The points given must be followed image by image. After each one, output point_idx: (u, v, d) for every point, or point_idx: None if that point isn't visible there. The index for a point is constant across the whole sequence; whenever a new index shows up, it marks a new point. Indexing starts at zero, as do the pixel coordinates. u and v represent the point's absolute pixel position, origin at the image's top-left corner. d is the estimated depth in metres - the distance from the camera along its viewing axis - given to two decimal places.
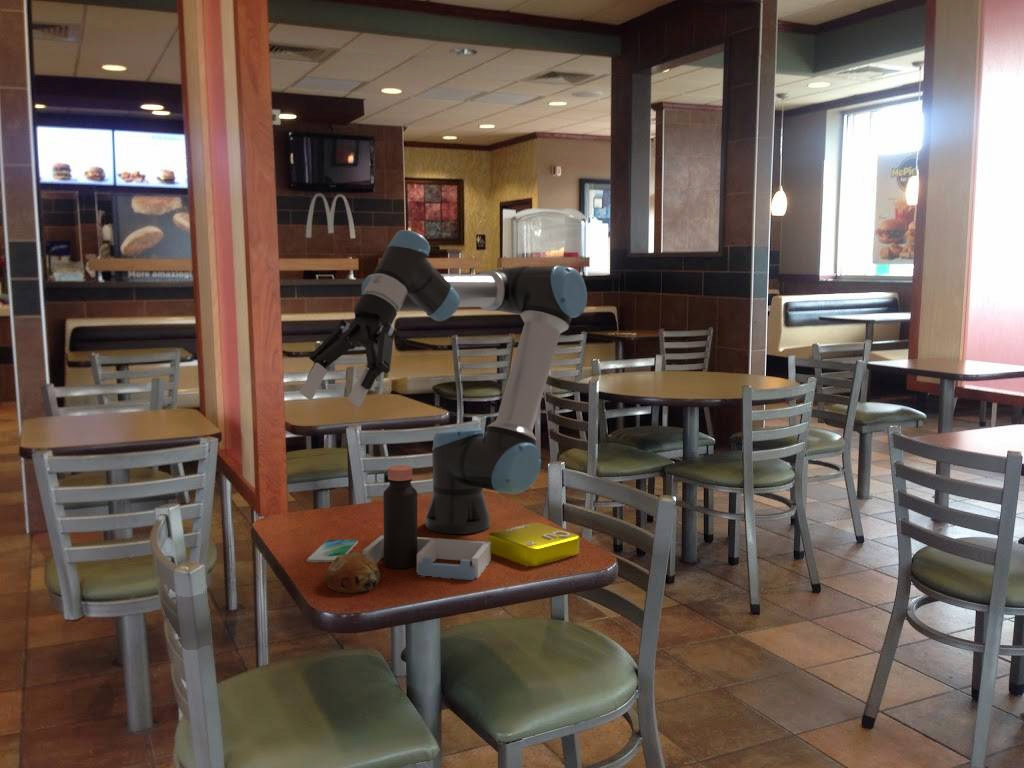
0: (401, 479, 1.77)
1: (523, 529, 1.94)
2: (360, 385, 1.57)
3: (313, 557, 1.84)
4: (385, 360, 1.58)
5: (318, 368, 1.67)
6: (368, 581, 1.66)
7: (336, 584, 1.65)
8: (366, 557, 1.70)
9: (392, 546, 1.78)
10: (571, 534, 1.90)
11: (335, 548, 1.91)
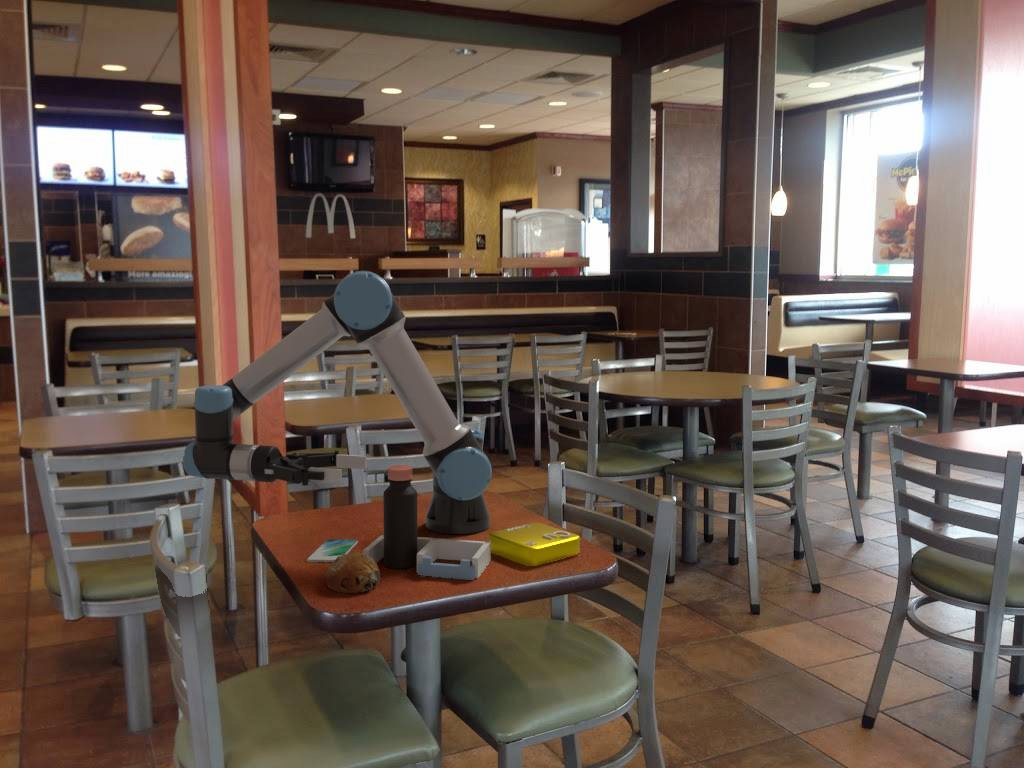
0: (401, 479, 1.77)
1: (523, 529, 1.94)
2: (324, 479, 1.75)
3: (313, 557, 1.84)
4: (291, 477, 1.74)
5: (339, 464, 1.89)
6: (368, 581, 1.66)
7: (336, 585, 1.65)
8: (366, 557, 1.70)
9: (392, 546, 1.78)
10: (571, 534, 1.90)
11: (335, 547, 1.91)
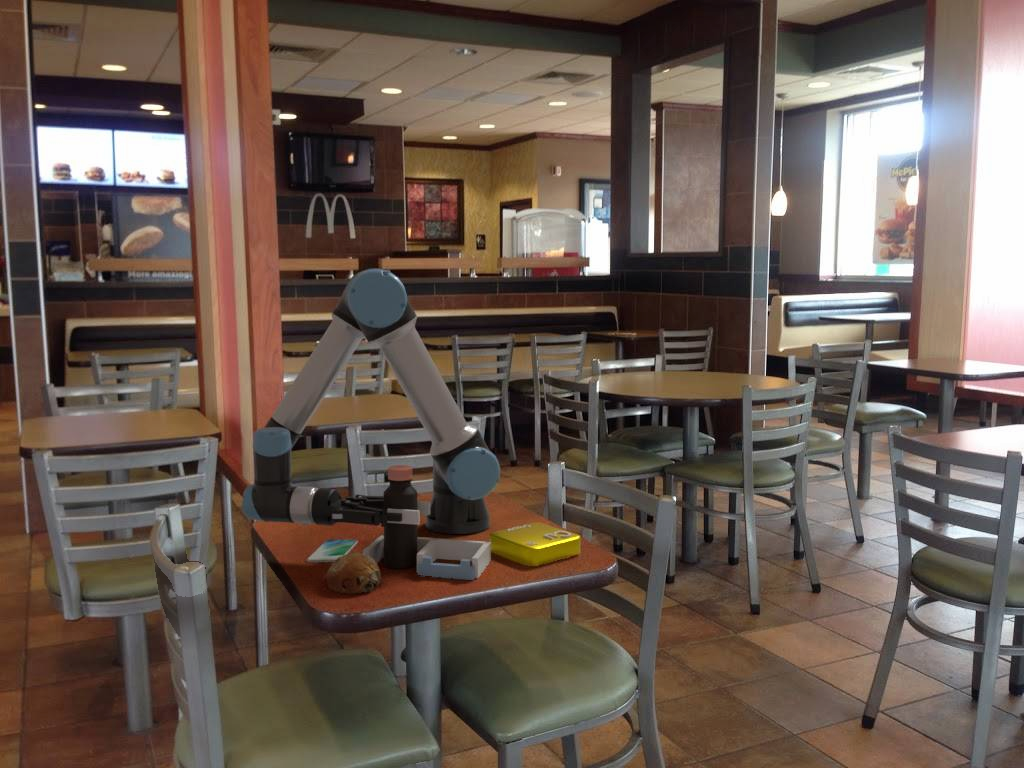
0: (401, 479, 1.77)
1: (524, 529, 1.94)
2: (402, 520, 1.76)
3: (314, 557, 1.84)
4: (370, 520, 1.75)
5: None
6: (369, 582, 1.66)
7: (337, 585, 1.65)
8: (367, 558, 1.70)
9: (392, 546, 1.78)
10: (572, 534, 1.90)
11: (335, 547, 1.91)
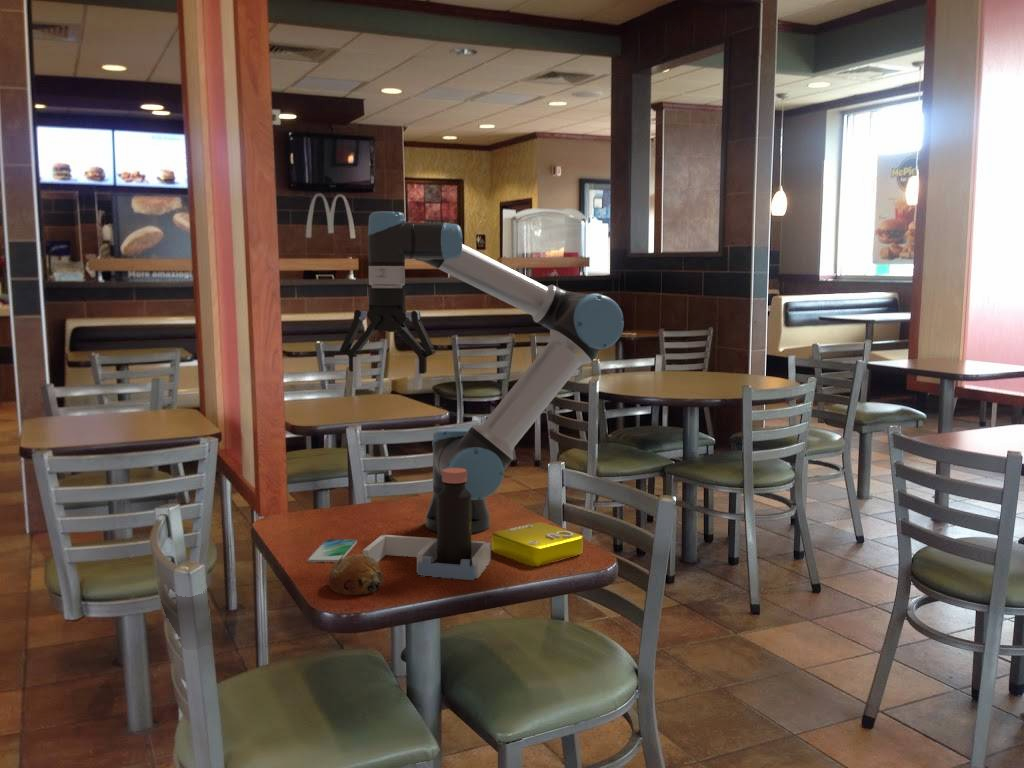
0: (456, 482, 1.75)
1: (527, 529, 1.94)
2: (419, 373, 1.86)
3: (314, 558, 1.84)
4: (430, 346, 1.85)
5: (357, 360, 1.88)
6: (371, 583, 1.65)
7: (339, 587, 1.64)
8: (369, 559, 1.69)
9: (446, 550, 1.76)
10: (574, 534, 1.90)
11: (334, 547, 1.91)
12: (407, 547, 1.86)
